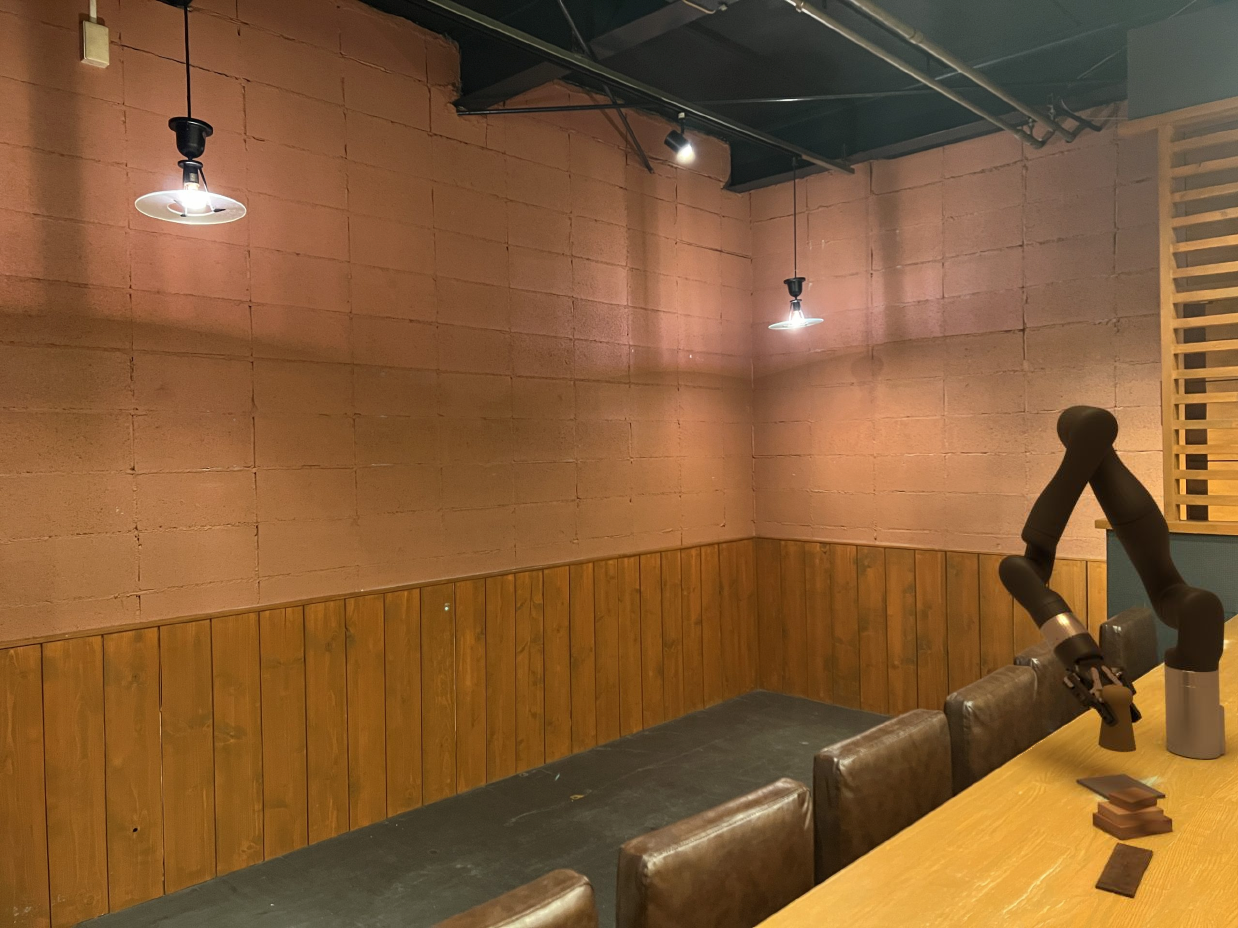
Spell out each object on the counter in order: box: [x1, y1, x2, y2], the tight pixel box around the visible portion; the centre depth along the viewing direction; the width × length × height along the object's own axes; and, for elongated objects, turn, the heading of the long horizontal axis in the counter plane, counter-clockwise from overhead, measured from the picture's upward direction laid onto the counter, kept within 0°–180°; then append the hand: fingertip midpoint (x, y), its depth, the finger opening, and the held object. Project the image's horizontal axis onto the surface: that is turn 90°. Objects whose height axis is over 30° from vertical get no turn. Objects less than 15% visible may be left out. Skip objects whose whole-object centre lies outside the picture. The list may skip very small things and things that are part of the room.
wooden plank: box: [1094, 842, 1154, 899], centre depth 132 cm, size 17×1×5 cm
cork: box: [1098, 684, 1137, 753], centre depth 160 cm, size 6×6×11 cm
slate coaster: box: [1075, 773, 1166, 801], centre depth 161 cm, size 10×10×1 cm
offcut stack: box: [1091, 787, 1173, 841], centre depth 145 cm, size 10×6×5 cm, turn 104°
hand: (1125, 722), depth 159 cm, fingers closed on cork, 5 cm apart
